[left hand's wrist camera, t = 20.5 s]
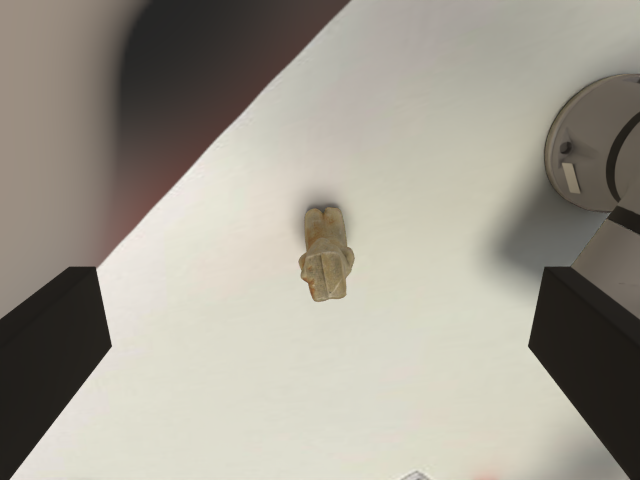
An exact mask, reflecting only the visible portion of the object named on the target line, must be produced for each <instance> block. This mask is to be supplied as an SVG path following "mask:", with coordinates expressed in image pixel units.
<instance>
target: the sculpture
mask: <svg viewBox="0 0 640 480" xmlns="http://www.w3.org/2000/svg"><path fill="white" fill-rule="evenodd" d="M305 242H306V249H307V252H306V253H305V254H303V255H302V256H301V257H300V259H299V265H300V268H301V270H302V272H301V278H302V279H303V280H304V281H306V282H307V283H308V284H309V289H310V293H311V296H312V298H313V300H314V301H316V302H321V301H326V300H328V299H341V298H343V297H345V296H346V277H347V276H348V275H349V273H350V272H351V270H352V269H351V268H352V266H353V263H354V259H355V258H354V254H353V251H352V249H351V248H349V247H347V240H346V233H345V226H344V221H343V217H342V213H341V211H340V210H339V209H338V208H331V207H327V208H326V209H325V212H324V213H322V212H321V211H320V210H318V209H311V210H309V211H308V212H307V213H306V215H305Z"/></svg>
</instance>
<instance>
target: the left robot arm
mask: <svg viewBox="0 0 640 480" xmlns="http://www.w3.org/2000/svg"><path fill="white" fill-rule="evenodd" d="M545 167H546V172H547V175H548V178H549V180H550V182H551V184H552V186H553V187H554V189H555V190H556V191H557V192H558V193H559V194H560V195H561V196H562V197H563V198H564V199H566V200H567V201H569V202H571V203H573V204H575V205H577V206H579V207H581V208H584V209H586V210H590V211H596V212H612V213H611V214H610V215H609V217H608V218H607V219H606V220H605V221H604V223H603V224H602V225H601V227H600V228H599V229H598V231H597V232H596V233H595V235H594V236H593V237H592V239H591V240H590V241H589V243H588V244H587V246H586V247H585V248H584V250H583V251H582V252H581V254H580V255H579V256H578V258H577V259H576V260H575V262H574V263H573V264H572V266H571V267H544V272H543V276H542V281H541V286H540V291H539V296H538V301H537V306H536V310H535V315H534V320H533V325H532V330H531V335H530V340H529V344H528V347H529V348H530V350H531V351H532V352H533V353H534V355H535V356H536V357H537V359H538V360H539V361H540V363H541V364H542V365H543V366H544V368H545V369H546V370H547V372H548V373H549V374H550V376H551V377H552V378H553V379H554V381H555V382H556V383H557V385H558V386H559V387H560V389H561V390H562V391H563V392H564V394H565V395H566V396H567V398H568V399H569V400H570V402H571V403H572V404H573V405H574V407H575V408H576V409H577V411H578V412H579V413H580V415H581V416H582V417H583V418H584V420H585V421H586V422H587V424H588V425H589V426H590V428H591V429H592V430H593V432H594V433H595V434H596V435H597V437H598V438H599V439H600V441H601V442H602V443H603V445H604V446H605V447H606V448H607V450H608V451H609V452H610V454H611V455H612V456H613V458H614V459H615V460H616V461H617V463H618V464H619V465H620V467H621V468H622V469H623V471H624V472H625V473H626V474H627V476H628V477H629V478H630V480H640V235H639V234H640V74H622V75H615V76H611V77H607V78H604V79H602V80H599V81H597V82H595V83H593V84H591V85H589V86H588V87H586V88H585V89H583V90H582V91H580V92H579V93H578V94H577V95H575V96H574V97H573V98H572V99H571V100H570V101H569V102H568V103H567V104H566V105H565V106H564V108H563V109H562V110H561V112H560V113H559V115H558V116H557V118H556V119H555V121H554V123H553V125H552V127H551V129H550V132H549V135H548V138H547V142H546V147H545ZM621 225H622V226H621ZM623 226H624V227H623ZM627 228H628V229H627ZM629 229H630V230H629ZM631 230H632V231H631ZM633 231H634V232H633ZM111 347H112V344H111V340H110V335H109V330H108V325H107V320H106V315H105V310H104V306H103V301H102V296H101V291H100V286H99V281H98V276H97V272H96V267H68V268H67V269H66V270H64V271H63V272H62V273H60V274H59V275H58V276H56V277H55V278H54V279H53V280H51V281H50V282H49V283H47V284H46V285H45V286H43V287H42V288H41V289H39V290H38V291H37V292H35V293H34V294H33V295H32V296H30V297H29V298H28V299H26V300H25V301H24V302H22V303H21V304H20V305H18V306H17V307H16V308H15V309H13V310H12V311H11V312H9V313H8V314H7V315H5V316H4V317H3V318H1V319H0V480H10V478H11V477H12V476H13V474H14V473H15V472H16V471H17V469H18V468H19V467H20V465H21V464H22V463H23V461H24V460H25V459H26V458H27V456H28V455H29V454H30V452H31V451H32V450H33V448H34V447H35V446H36V445H37V443H38V442H39V441H40V439H41V438H42V437H43V435H44V434H45V433H46V432H47V430H48V429H49V428H50V426H51V425H52V424H53V422H54V421H55V420H56V418H57V417H58V416H59V415H60V413H61V412H62V411H63V409H64V408H65V407H66V405H67V404H68V403H69V402H70V400H71V399H72V398H73V396H74V395H75V394H76V392H77V391H78V390H79V389H80V387H81V386H82V385H83V383H84V382H85V381H86V379H87V378H88V377H89V376H90V374H91V373H92V372H93V370H94V369H95V368H96V366H97V365H98V364H99V363H100V361H101V360H102V359H103V357H104V356H105V355H106V353H107V352H108V351H109V350H110V348H111Z"/></svg>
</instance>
